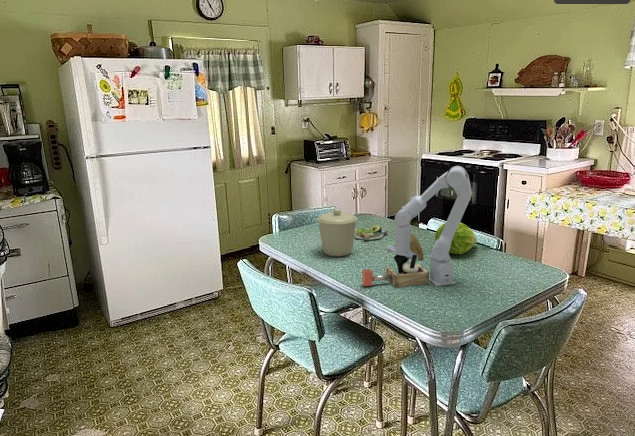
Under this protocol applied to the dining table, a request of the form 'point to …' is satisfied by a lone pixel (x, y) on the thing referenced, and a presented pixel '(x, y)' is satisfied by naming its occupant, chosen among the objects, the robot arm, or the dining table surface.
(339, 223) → the canister
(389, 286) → the dining table surface
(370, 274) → the lock pin
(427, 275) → the dock
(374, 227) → the salad plate
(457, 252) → the lettuce
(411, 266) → the cocoa
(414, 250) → the rock
